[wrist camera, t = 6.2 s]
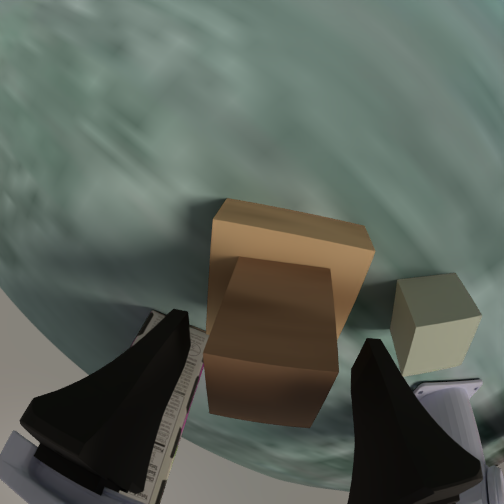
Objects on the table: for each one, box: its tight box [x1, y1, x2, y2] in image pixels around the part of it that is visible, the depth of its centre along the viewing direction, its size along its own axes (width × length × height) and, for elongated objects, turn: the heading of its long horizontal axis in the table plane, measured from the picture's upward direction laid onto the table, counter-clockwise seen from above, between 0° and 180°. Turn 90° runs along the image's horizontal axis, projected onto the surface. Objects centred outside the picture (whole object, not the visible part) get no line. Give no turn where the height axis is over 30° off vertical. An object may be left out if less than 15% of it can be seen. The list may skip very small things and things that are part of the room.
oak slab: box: [206, 198, 375, 339], centre depth 15 cm, size 7×7×3 cm
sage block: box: [390, 273, 482, 377], centre depth 14 cm, size 4×4×4 cm
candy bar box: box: [119, 310, 209, 504], centre depth 15 cm, size 11×5×16 cm, turn 161°
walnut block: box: [203, 256, 339, 428], centre depth 11 cm, size 4×4×6 cm
